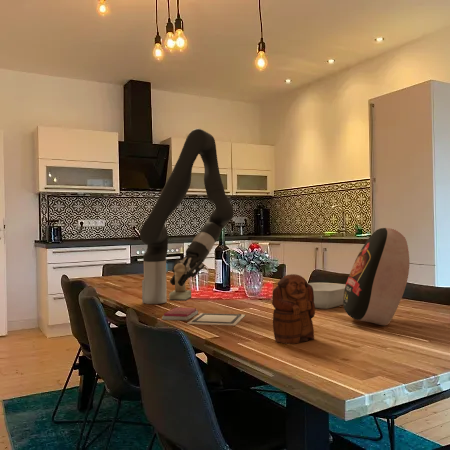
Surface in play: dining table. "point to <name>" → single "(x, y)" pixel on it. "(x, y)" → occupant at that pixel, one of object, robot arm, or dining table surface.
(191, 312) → the ink pad
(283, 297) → the wooden figurine
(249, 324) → the dining table surface
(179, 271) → the stamp
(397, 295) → the packaged food
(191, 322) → the print sheet
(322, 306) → the square bowl
